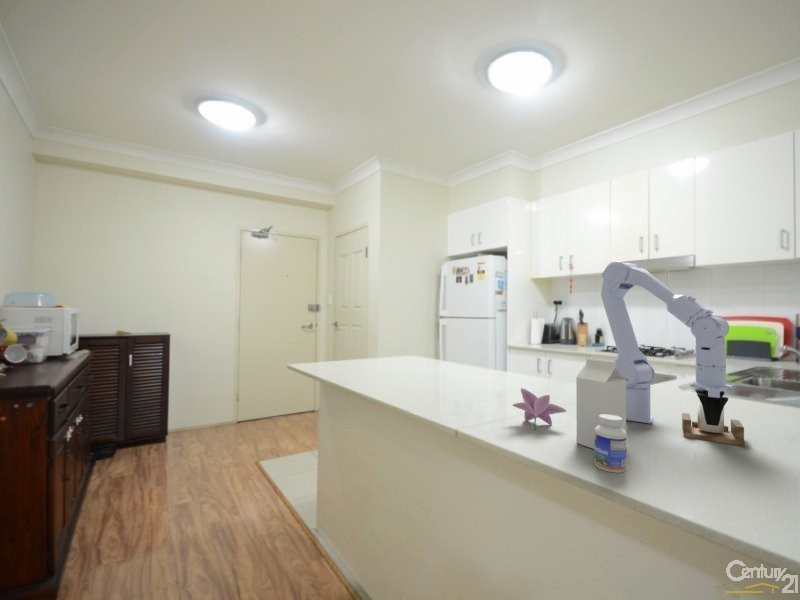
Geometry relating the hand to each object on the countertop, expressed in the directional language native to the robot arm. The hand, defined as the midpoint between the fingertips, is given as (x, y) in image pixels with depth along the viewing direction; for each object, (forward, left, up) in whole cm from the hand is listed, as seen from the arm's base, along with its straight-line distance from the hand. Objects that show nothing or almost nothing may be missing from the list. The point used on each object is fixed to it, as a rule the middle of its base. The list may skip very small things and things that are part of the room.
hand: (711, 422), depth 93 cm
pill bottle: (-18, -35, -4) cm, 40 cm away
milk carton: (-21, -23, -4) cm, 31 cm away
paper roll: (0, 0, -2) cm, 2 cm away
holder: (0, 0, -3) cm, 3 cm away
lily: (-36, -17, -4) cm, 40 cm away
